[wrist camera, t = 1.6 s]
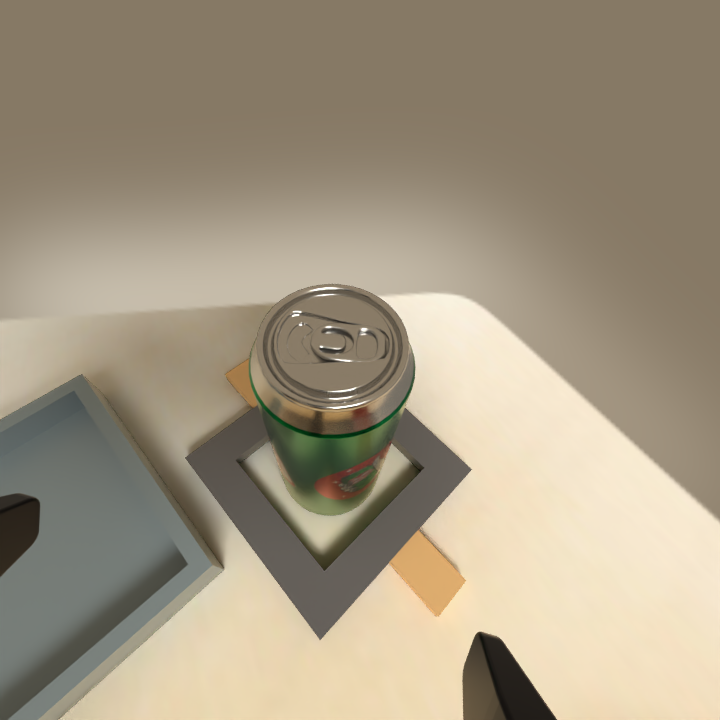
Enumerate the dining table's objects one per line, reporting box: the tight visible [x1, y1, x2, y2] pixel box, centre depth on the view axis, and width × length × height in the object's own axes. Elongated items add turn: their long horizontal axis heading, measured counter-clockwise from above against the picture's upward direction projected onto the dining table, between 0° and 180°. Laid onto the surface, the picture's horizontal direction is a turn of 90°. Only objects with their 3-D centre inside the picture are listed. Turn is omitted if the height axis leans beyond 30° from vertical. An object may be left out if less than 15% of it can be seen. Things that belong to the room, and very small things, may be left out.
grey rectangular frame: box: [185, 359, 472, 640], centre depth 21 cm, size 11×17×1 cm, turn 44°
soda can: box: [249, 284, 415, 515], centre depth 16 cm, size 5×5×12 cm
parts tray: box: [0, 374, 224, 720], centre depth 17 cm, size 12×12×2 cm
